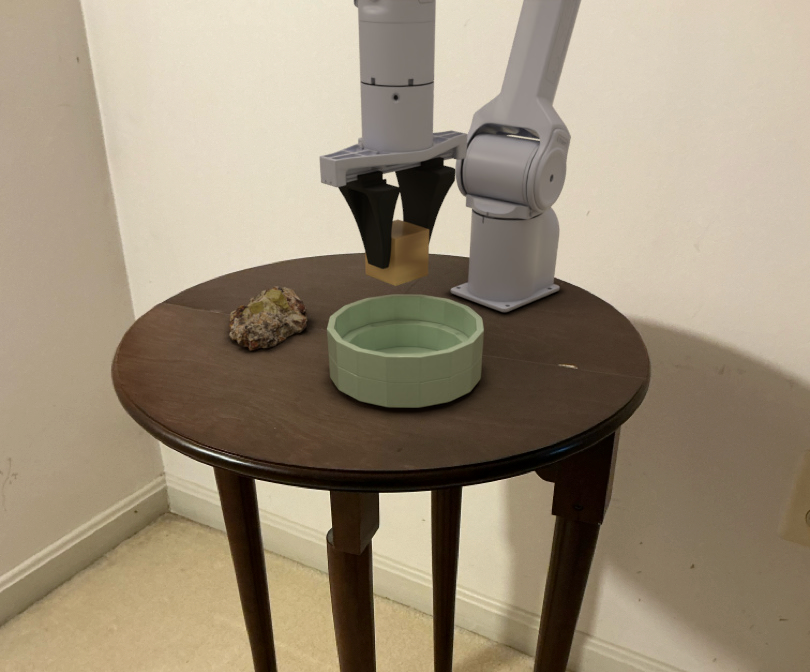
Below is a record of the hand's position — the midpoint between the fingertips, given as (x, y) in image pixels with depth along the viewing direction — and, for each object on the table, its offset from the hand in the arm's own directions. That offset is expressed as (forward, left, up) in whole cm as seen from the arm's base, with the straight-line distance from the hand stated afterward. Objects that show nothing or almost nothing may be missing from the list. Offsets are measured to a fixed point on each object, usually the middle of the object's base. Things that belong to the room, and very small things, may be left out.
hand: (397, 259), depth 68 cm
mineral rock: (+6, -12, -9) cm, 16 cm away
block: (0, 0, -1) cm, 1 cm away
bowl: (+3, +5, -9) cm, 10 cm away
